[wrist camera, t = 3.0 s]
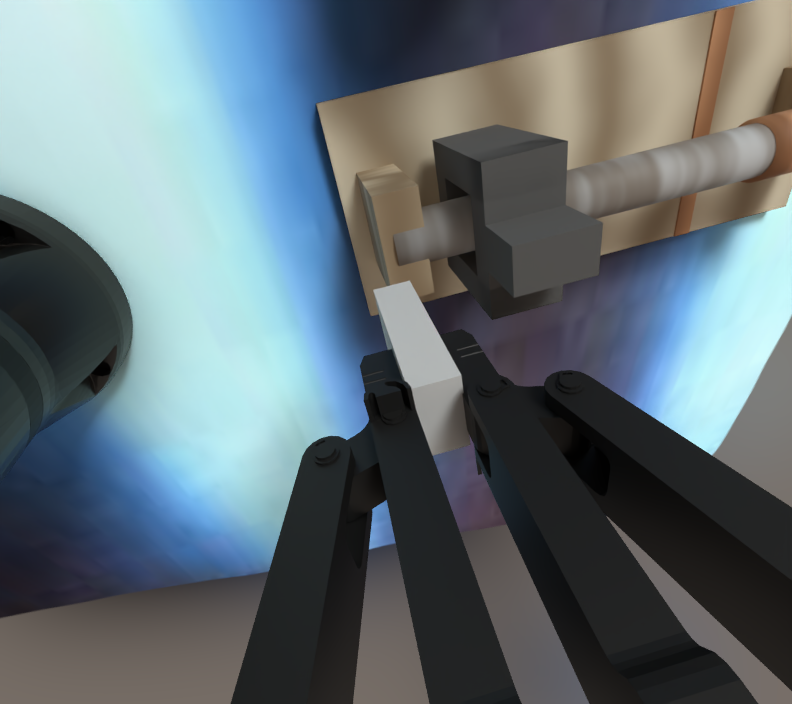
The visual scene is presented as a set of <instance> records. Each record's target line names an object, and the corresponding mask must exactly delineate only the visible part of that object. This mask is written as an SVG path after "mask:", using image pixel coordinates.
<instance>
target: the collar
mask: <svg viewBox="0 0 792 704" xmlns="http://www.w3.org/2000/svg"><path fill="white" fill-rule="evenodd" d="M432 142H433V150H434V158H435V166H436V174H437V181H438V189H439V197H440V202H444V201H448V200H451V199H455V198H459V197H463V196H467V195H471V206H472V217H473V229H474V240H475V251H471V252H467V253H463V254H459V255H455V256H452V257H448V258H447V260H448V266H449V267H450V268H451V270H452V271H453V272H454V273H455V275H456V276H457V277H458V278H459V280H460V281H461V282H462V283H463V285H464V286H465V287H466V288H467V289H468V291H469V292H470V293H471V294H472V296H473V297H474V298H475V299H476V301H477V302H478V303H479V304H480V306H481V307H482V308H483V309H484V311H485V312H486V313H487V314H488V315H489V317H490V318H491V319H492V320H493V319H497V318H501V317H504V316H508V315H512V314H516V313H519V312H523V311H527V310H530V309H534V308H538V307H541V306H545V305H549V304H552V303H556V302H560V301H562V293H563V285H564V284H567V283H571V282H575V281H578V280H582V279H586V278H590V277H593V276H597V275H599V265H600V254H601V243H602V231H603V222H601V221H599V220H596V219H594V218H592V217H590V216H588V215H586V214H584V213H582V212H580V211H577V210H575V209H573V208H571V207H569V206H567V205H566V184H567V156H568V141H566V140H562V139H558V138H553V137H549V136H545V135H540V134H536V133H532V132H528V131H523V130H519V129H515V128H511V127H506V126H502V125H498V124H496V125H492V126H488V127H484V128H480V129H476V130H472V131H468V132H463V133H459V134H455V135H451V136H447V137H443V138H439V139H435V140H432Z"/></svg>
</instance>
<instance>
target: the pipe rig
mask: <svg viewBox="0 0 792 704" xmlns="http://www.w3.org/2000/svg"><path fill="white" fill-rule="evenodd" d="M316 105H317V109H318V113H319V117H320V121H321V125H322V129H323V133H324V137H325V141H326V144H327V148H328V152H329V156H330V160H331V164H332V168H333V172H334V176H335V180H336V183H337V187H338V191H339V195H340V199H341V203H342V207H343V211H344V215H345V218H346V222H347V226H348V230H349V234H350V238H351V242H352V246H353V250H354V254H355V257H356V261H357V265H358V269H359V273H360V277H361V281H362V285H363V289H364V293H365V296H366V300H367V304H368V308H369V312H370V315H371V316H374V315H378V314H379V312H378V308H377V304H376V299H375V295H374V291H373V290H375V289H379V288H383V287H387V286H390V285H394V284H398V283H402V282H406V281H410V282H411V284H412V286H413V288H414V289H415V291H416V293H417V295H418V297H419V299H420V300H421V302H422V303H423V302H427V301H431V300H435V299H438V298H442V297H446V296H450V295H453V294H457V293H461V292H465V291H468V289H467V288H466V287H465V286H464V285H463V283H462V282H461V281H460V280H459V278H458V277H457V276H456V275H455V273H454V272H453V271H452V270H451V268H450V267H449V266H448V260H447V258H448V257H452V256H455V255H459V254H463V253H467V252H471V251H475V240H474V229H473V217H472V206H471V195H467V196H463V197H459V198H455V199H451V200H448V201H444V202H440V197H439V189H438V181H437V174H436V166H435V158H434V150H433V142H432V140H435V139H439V138H443V137H447V136H451V135H455V134H459V133H463V132H468V131H472V130H476V129H480V128H484V127H488V126H492V125H496V124H498V125H502V126H506V127H511V128H515V129H519V130H523V131H528V132H532V133H536V134H540V135H545V136H549V137H553V138H558V139H562V140H566V141H568V156H567V184H566V205H567V206H569V207H571V208H573V209H575V210H577V211H580V212H582V213H584V214H586V215H588V216H590V217H592V218H594V219H596V220H599V221H601V222H603V231H602V243H601V254H600V255H604V254H608V253H611V252H615V251H619V250H623V249H627V248H630V247H634V246H638V245H642V244H645V243H649V242H653V241H657V240H660V239H664V238H668V237H672V236H678V235H682V234H686V233H689V232H691V231H694V230H698V229H702V228H706V227H709V226H713V225H717V224H721V223H724V222H728V221H732V220H736V219H739V218H743V217H747V216H751V215H755V214H758V213H762V212H766V211H770V210H773V209H777V208H781V207H785V206H786V204H787V201H788V198H789V195H790V192H791V189H792V0H755V1H751V2H746V3H742V4H738V5H734V6H729V7H725V8H721V9H716V10H712V11H708V12H704V13H699V14H695V15H691V16H687V17H682V18H678V19H674V20H670V21H665V22H661V23H657V24H652V25H648V26H644V27H640V28H635V29H631V30H627V31H623V32H618V33H614V34H610V35H606V36H601V37H597V38H593V39H588V40H584V41H580V42H576V43H571V44H567V45H563V46H559V47H554V48H550V49H546V50H542V51H537V52H533V53H529V54H524V55H520V56H516V57H512V58H507V59H503V60H499V61H495V62H490V63H486V64H482V65H478V66H473V67H469V68H465V69H460V70H456V71H452V72H448V73H443V74H439V75H435V76H431V77H426V78H422V79H418V80H414V81H409V82H405V83H401V84H396V85H392V86H388V87H384V88H379V89H375V90H371V91H367V92H362V93H358V94H354V95H350V96H345V97H341V98H337V99H332V100H328V101H324V102H320V103H316Z"/></svg>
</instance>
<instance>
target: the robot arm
mask: <svg viewBox="0 0 792 704" xmlns="http://www.w3.org/2000/svg"><path fill="white" fill-rule="evenodd" d="M373 291H374V295H375V299H376V304H377V308H378V312H379V316H380V320H381V324H382V328H383V332H384V337H385V341H386V345H387V348H388V350H386V351H382V352H378V353H375V354H371V355H367V356H364V358H363V360H362V363H361V365H360V368H361V373H362V378H363V383H364V387H365V392H366V393H365V394H364V403H365V406H366V409H367V413H368V416H369V422H368V424H367V425H366V427H365V428H364V429H363V430H362V431H361V432H360V433H358V434H357V435H355V436H354V437H352V438H350V439H348V440H346V439H344V438H341V437H339V436H328V437H324V438H321V439H319V440H317V441H315V442H314V443H312V444H311V445H310V446H309V447H308V448H307V449H306V451H305V453H304V455H303V456H302V460H301V463H300V467H299V470H298V474H297V477H296V480H295V484H294V487H293V491H292V494H291V498H290V501H289V505H288V508H287V511H286V515H285V518H284V522H283V525H282V529H281V532H280V536H279V539H278V542H277V546H276V549H275V553H274V556H273V560H272V563H271V567H270V570H269V573H268V578H267V580H266V584H265V588H264V591H263V594H262V598H261V601H260V604H259V608H258V611H257V615H256V618H255V622H254V625H253V629H252V632H251V636H250V639H249V642H248V646H247V649H246V653H245V657H244V660H243V663H242V667H241V670H240V673H239V677H238V681H237V684H236V687H235V691H234V694H233V698H232V701H231V704H353V696H354V687H355V677H356V667H357V658H358V648H359V638H360V628H361V619H362V608H363V599H364V590H365V579H366V570H367V561H368V551H369V541H370V532H371V522H372V509H373V508H374V507H376V506H377V505H379V504H381V503H382V502H384V501H385V500H387V503H388V508H389V513H390V518H391V522H392V527H393V532H394V537H395V541H396V545H397V551H398V556H399V560H400V565H401V570H402V574H403V579H404V584H405V588H406V594H407V598H408V603H409V608H410V613H411V617H412V622H413V627H414V632H415V637H416V641H417V646H418V651H419V655H420V660H421V665H422V670H423V675H424V679H425V684H426V689H427V693H428V698H429V703H430V704H522V703H521V701H520V699H519V696H518V694H517V691H516V689H515V686H514V683H513V680H512V678H511V675H510V672H509V669H508V666H507V664H506V661H505V658H504V655H503V652H502V649H501V647H500V644H499V641H498V638H497V635H496V633H495V630H494V627H493V624H492V622H491V619H490V616H489V613H488V610H487V607H486V605H485V602H484V599H483V597H482V593H481V591H480V588H479V585H478V582H477V580H476V577H475V574H474V571H473V568H472V566H471V563H470V560H469V557H468V554H467V551H466V548H465V546H464V543H463V540H462V537H461V534H460V532H459V529H458V526H457V523H456V520H455V518H454V515H453V512H452V509H451V506H450V504H449V501H448V498H447V495H446V492H445V490H444V487H443V484H442V481H441V478H440V475H439V473H438V470H437V467H436V464H435V461H434V459H433V455H436V454H440V453H443V452H447V451H450V450H454V449H457V448H461V447H464V446H468V445H470V438H469V435H470V437H471V439H472V441H473V443H474V447H475V455H476V463H477V471H478V475H480V474H482V472H483V474H484V476H485V478H486V480H487V482H488V485H489V487H490V489H491V491H492V493H493V495H494V498H495V500H496V502H497V504H498V506H499V508H500V511H501V513H502V515H503V517H504V519H505V521H506V524H507V526H508V528H509V530H510V532H511V534H512V537H513V539H514V541H515V543H516V545H517V547H518V550H519V552H520V554H521V556H522V558H523V560H524V563H525V565H526V567H527V569H528V571H529V573H530V576H531V578H532V580H533V582H534V584H535V586H536V588H537V591H538V593H539V595H540V597H541V600H542V601H543V604H544V606H545V608H546V610H547V613H548V615H549V617H550V619H551V621H552V623H553V626H554V628H555V630H556V632H557V634H558V636H559V638H560V640H561V643H562V645H563V647H564V649H565V652H566V654H567V656H568V658H569V660H570V662H571V664H572V666H573V669H574V671H575V673H576V675H577V677H578V680H579V682H580V684H581V686H582V688H583V691H584V693H585V695H586V697H587V699H588V701H589V703H590V704H758V703H757V702H756V700H755V699H754V697H753V696H752V695H751V693H750V692H749V690H748V689H747V688H746V687H745V685H744V684H743V682H742V681H741V680H740V678H739V677H738V676H737V675H736V674H735V672H734V671H733V670H732V669H731V667H730V666H729V665H728V664H727V663H726V662H725V661H724V660H723V659H722V658H721V657H719V656H718V655H717V654H716V653H715V652H713V651H710V650H708V649H706V648H704V647H701V646H699V645H698V644H697V643H696V642H695V641H694V640H693V639H692V638H691V637H690V636H689V634H688V633H687V632H686V630H685V629H684V628H683V626H682V625H681V623H680V622H679V621H678V619H677V617H676V616H675V615H674V613H673V612H672V610H671V609H670V607H669V606H668V605H667V603H666V602H665V600H664V599H663V597H662V596H661V595H660V593H659V592H658V590H657V589H656V587H655V586H654V584H653V583H652V582H651V580H650V579H649V577H648V576H647V574H646V573H645V572H644V570H643V569H642V567H641V566H640V565H639V563H638V561H637V560H636V559H635V557H634V556H633V554H632V553H631V551H630V550H629V549H628V547H627V546H626V544H625V543H624V542H623V540H622V539H621V537H620V536H619V534H618V533H617V531H616V530H615V528H614V527H613V526H612V524H611V523H610V521H609V520H608V519H607V517H606V516H605V515H607V516H608V517H609V518H610V519H611V520H612V521H613V522H614V523H615V524H616V525H617V526H618V527H619V528H620V529H621V530H622V531H623V532H625V533H626V534H627V535H628V536H629V537H630V538H631V539H632V540H633V541H634V542H635V543H636V544H637V545H638V546H639V547H640V548H641V549H642V550H644V551H645V552H646V553H647V554H648V555H649V556H650V557H651V558H652V559H653V560H654V561H655V562H656V563H657V564H658V565H659V566H660V567H662V568H663V569H664V570H665V571H666V572H667V573H668V574H669V575H670V576H671V577H672V578H673V579H674V580H675V581H677V583H678V584H679V585H680V586H682V587H683V588H684V589H685V590H686V591H687V592H688V593H689V594H690V595H691V596H692V597H693V598H694V599H695V600H696V601H697V602H698V603H699V604H701V605H702V606H703V607H704V608H705V609H706V610H707V611H708V612H709V613H710V614H711V615H712V616H713V617H714V618H715V619H717V621H719V622H720V623H721V624H722V625H723V626H724V627H725V628H726V629H727V630H728V631H729V632H730V633H731V634H732V635H733V636H734V637H735V638H737V640H739V641H740V642H741V643H742V644H743V645H744V646H745V647H746V648H747V649H748V650H749V651H750V652H751V653H752V654H753V655H754V656H755V657H757V658H758V659H759V660H760V661H761V662H762V663H763V664H764V665H765V666H766V667H767V668H768V669H769V670H770V671H771V672H772V673H773V674H774V675H775V676H777V677H778V678H779V679H780V680H781V681H782V682H783V683H784V684H785V685H786V686H787V687H788V688H789V689H790V690H791V691H792V507H790V506H789V505H787V504H786V503H784V502H782V501H781V500H779V499H778V498H776V497H775V496H773V495H772V494H770V493H769V492H767V491H766V490H764V489H763V488H761V487H759V486H758V485H756V484H755V483H753V482H752V481H750V480H749V479H747V478H746V477H744V476H742V475H741V474H739V473H738V472H736V471H735V470H733V469H732V468H730V467H729V466H727V465H726V464H724V463H722V462H721V461H719V460H718V459H716V458H715V457H713V456H712V455H710V454H709V453H707V452H706V451H704V450H702V449H701V448H699V447H698V446H696V445H695V444H693V443H692V442H690V441H689V440H687V439H686V438H684V437H682V436H681V435H679V434H678V433H676V432H675V431H673V430H672V429H670V428H669V427H667V426H665V425H664V424H662V423H661V422H659V421H658V420H656V419H655V418H653V417H652V416H650V415H649V414H647V413H645V412H644V411H642V410H641V409H639V408H638V407H636V406H635V405H633V404H632V403H630V402H629V401H627V400H625V399H624V398H622V397H621V396H619V395H618V394H616V393H615V392H613V391H612V390H610V389H609V388H607V387H605V386H604V385H602V384H601V383H599V382H598V381H596V380H595V379H593V378H592V377H590V376H588V375H586V374H584V373H582V372H578V371H572V370H567V371H559V372H556V373H553V374H551V375H550V376H549V377H547V379H546V381H545V383H544V386H533V387H524V386H517V385H514V383H513V382H512V381H510V380H509V379H508V378H506V377H503V376H501V375H499V374H498V373H497V371H496V370H495V368H494V367H493V365H492V364H491V363H490V361H489V360H488V358H487V357H486V355H485V354H484V352H482V349H481V348H480V346H479V345H478V343H477V342H476V340H475V339H474V337H473V336H472V335H471V334H469V333H467V332H465V331H464V330H462V329H461V330H457V331H453V332H449V333H446V334H442V335H439V333H438V332H437V330H436V328H435V326H434V324H433V322H432V321H431V319H430V317H429V315H428V313H427V311H426V310H425V308H424V306H423V304H422V302H421V300H420V299H419V297H418V295H417V293H416V291H415V289H414V288H413V286H412V284H411V282H410V281H406V282H402V283H398V284H394V285H390V286H387V287H383V288H379V289H375V290H373ZM131 338H132V317H131V312H130V307H129V304H128V301H127V298H126V295H125V293H124V291H123V289H122V287H121V285H120V283H119V281H118V279H117V278H116V276H115V275H114V273H113V272H112V270H111V269H110V268H109V266H108V265H107V264H106V262H105V261H104V260H103V259H102V258H101V257H100V256H99V254H98V253H97V252H96V251H95V250H94V249H93V248H92V247H91V246H89V245H88V244H87V243H86V242H85V241H84V240H83V239H82V238H80V237H79V236H78V235H77V234H75V233H74V232H73V231H71V230H70V229H69V228H67V227H66V226H64V225H63V224H61V223H60V222H58V221H57V220H55V219H53V218H52V217H50V216H48V215H47V214H45V213H43V212H41V211H39V210H37V209H35V208H33V207H31V206H29V205H26V204H24V203H22V202H19V201H17V200H14V199H12V198H9V197H6V196H3V195H0V483H1V482H2V481H3V479H4V478H5V476H6V475H7V474H8V472H9V471H10V469H11V468H12V467H13V465H14V464H15V462H16V461H17V460H18V458H19V457H20V455H21V454H22V452H23V451H24V449H25V448H26V447H27V445H28V444H29V442H30V441H31V440H32V439H33V437H34V436H35V435H36V434H37V433H39V432H40V431H42V430H43V429H45V428H47V427H48V426H50V425H51V424H53V423H55V422H56V421H58V420H59V419H61V418H62V417H64V416H66V415H67V414H69V413H70V412H72V411H74V410H75V409H77V408H78V407H80V406H81V405H83V404H85V403H86V402H88V401H89V400H91V399H92V398H93V397H95V396H96V395H97V394H98V393H99V392H100V391H102V390H103V389H104V388H105V387H106V385H107V384H108V383H109V382H110V381H111V379H112V378H113V376H114V375H115V373H116V372H117V370H118V368H119V367H120V365H121V364H122V362H123V360H124V358H125V357H126V354H127V352H128V350H129V346H130V343H131ZM481 469H482V471H481Z"/></svg>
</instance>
